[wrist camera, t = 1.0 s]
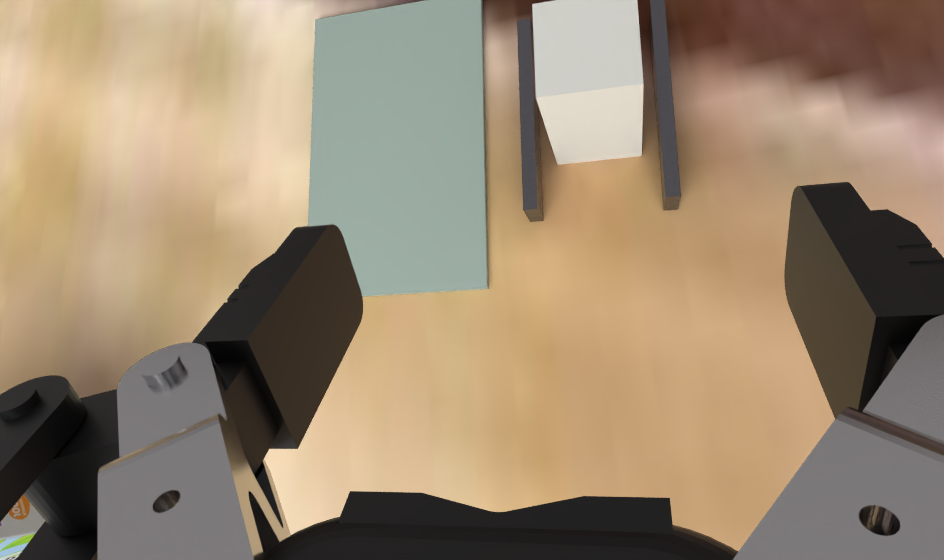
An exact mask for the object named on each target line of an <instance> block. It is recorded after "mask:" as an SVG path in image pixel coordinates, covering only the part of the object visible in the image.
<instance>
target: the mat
mask: <svg viewBox="0 0 944 560" xmlns="http://www.w3.org/2000/svg"><path fill="white" fill-rule="evenodd" d="M330 224H333V225H336V226H337V227H338V228H339V229H340V231H341V233H342V235H343V237H344V240H345V244H346V247H347V250H348V253H349V256H350V259H351V262H352V265H353V268H354V271H355V274H356V277H357V280H358V283H359V286H360V289H361V293H362V297H365V296H382V295H398V294H415V293H431V292H448V291H464V290H481V289H488V248H487V200H486V151H485V103H484V54H483V6H482V0H425V1H419V2H414V3H408V4H402V5H396V6H391V7H385V8H379V9H373V10H368V11H362V12H356V13H351V14H345V15H339V16H333V17H328V18H322V19H316V21H315V48H314V76H313V104H312V132H311V159H310V187H309V215H308V226H318V225H330Z"/></svg>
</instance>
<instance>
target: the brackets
mask: <svg viewBox="0 0 944 560" xmlns="http://www.w3.org/2000/svg"><path fill="white" fill-rule="evenodd" d="M649 28H650V41H651V54H652V67H653V80H654V93H655V106H656V119H657V132H658V145H659V158H660V171H661V184H662V197H663V210H676V209H678V207H679V202H680V197H681V192H680V180H679V168H678V156H677V144H676V132H675V120H674V108H673V96H672V84H671V72H670V59H669V47H668V35H667V23H666V11H665V0H650V14H649ZM517 29H518V60H519V91H520V122H521V153H522V183H523V210H524V212H525V214H526V215H527V217H528V219H529V220H530V222H534V221H543V198H542V172H541V146H540V121H539V106H538V103H537V100H536V88H535V61H534V35H533V27H532V23H531V19H525V20H519V21H517Z"/></svg>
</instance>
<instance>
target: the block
mask: <svg viewBox="0 0 944 560" xmlns="http://www.w3.org/2000/svg"><path fill="white" fill-rule="evenodd" d="M532 8H533V35H534V61H535V88H536V100H537V103H538V106H539V109H540V112H541V115H542V118H543V121H544V124H545V127H546V130H547V134H548V137H549V140H550V143H551V146H552V149H553V152H554V155H555V158H556V161H557V164H558V165H559V164H568V163H578V162H588V161H597V160H607V159H616V158H626V157H635V156H642V123H643V71H642V57H641V44H640V30H639V16H638V3H637V0H555V1H549V2H543V3H537V4H532Z"/></svg>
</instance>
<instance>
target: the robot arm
mask: <svg viewBox="0 0 944 560" xmlns="http://www.w3.org/2000/svg"><path fill="white" fill-rule="evenodd" d="M238 286H239V289H235V290H234V292H233V293H232V294H231V295H230V296H229V298H228V299H227V300H228V302H227V303H224V304H223V305H222V306H221V308H220V309H219V310H218V311H217V312H216V314H215V315H214V316H213V317H212V319H211V320H210V321H209V322H208V323H207V325H206V326H205V327H204V328H203V330H202V331H201V332H200V333H199V335H198V336H197V337H196V338H195V339H194V341H193V342H192V343H181V344H175V345H172V346H168V347H165V348H163V349H160V350H158V351H156V352H153V353H152V354H150V355H148V356H146V357H144V358H143V359H141V360H140V361H138V362H137V363H136V364H135V365H133V366H132V367H131V368H130V369H129V370H128V371H127V372H126V373H125V374H124V375H123V377H122V378H121V380H120V382H119V384H118V387H117V389H116V390H112V391H108V392H104V393H100V394H96V395H92V396H88V397H84V398H79V396H78V395H77V393H76V392H75V391H74V389H73V388H72V386H71V385H70V383H69V382H68V380H66V379H65V378H64V377H61V376H44V377H39V378H35V379H32V380H29V381H27V382H24V383H22V384H19V385H17V386H15V387H13V388H11V389H9V390H8V391H6V392H4V393H2V394H1V395H0V522H1V521H2V520H3V518H4V517H5V516H6V515H7V514H8V512H9V511H10V510H11V509H12V508H13V506H14V505H15V504H16V503H17V501H18V500H19V499H20V498H21V497H22V495H24V496H25V497H26V499H27V500H28V501H29V502H30V503H31V505H32V506H33V507H34V508H35V509H36V510H37V512H38V513H39V514H40V515H41V516H42V518H43V519H44V520H45V522H44V523H43V524H42V526H41V527H40V528H39V530H38V531H37V532H36V534H35V535H34V536H33V538H32V539H31V540H30V542H29V543H28V544H27V546H26V547H25V548H24V549H23V551H22V552H21V553H20V555H19V556H18V557H17V559H16V560H944V258H943V257H942V255H941V254H940V253H939V252H938V251H937V249H936V248H932V243H931V242H930V241H929V240H928V239H927V237H926V236H925V235H924V234H923V232H922V231H921V230H920V229H919V228H918V226H917V225H916V224H914V223H912V222H910V221H908V220H906V219H904V218H903V217H901V216H899V215H897V214H895V213H893V212H891V211H889V210H888V209H887V210H873V211H870V209H869V208H868V207H867V205H866V204H865V203H864V201H863V200H862V198H861V197H860V196H859V194H858V193H857V192H856V190H855V189H854V188H853V186H852V185H851V184H850V183H849V182H841V183H829V184H817V185H806V186H797V187H796V188H795V189H794V192H793V195H792V201H791V210H790V220H789V230H788V240H787V251H786V261H785V290H786V296H787V300H788V304H789V307H790V309H791V312H792V314H793V317H794V319H795V321H796V324H797V326H798V329H799V331H800V334H801V336H802V339H803V341H804V344H805V346H806V348H807V351H808V353H809V356H810V358H811V361H812V363H813V366H814V368H815V370H816V373H817V375H818V378H819V380H820V383H821V385H822V388H823V390H824V393H825V395H826V397H827V400H828V402H829V405H830V407H831V410H832V412H833V415H834V417H835V420H834V422H833V423H832V424H831V426H830V427H829V429H828V430H827V431H826V433H825V434H824V435H823V437H822V438H821V440H820V441H819V442H818V444H817V445H816V446H815V448H814V449H813V450H812V452H811V453H810V455H809V456H808V457H807V459H806V460H805V461H804V463H803V464H802V466H801V467H800V468H799V470H798V471H797V472H796V474H795V475H794V477H793V478H792V479H791V481H790V482H789V483H788V485H787V486H786V487H785V489H784V490H783V492H782V493H781V494H780V496H779V497H778V498H777V500H776V501H775V503H774V504H773V505H772V507H771V508H770V509H769V511H768V512H767V513H766V515H765V516H764V518H763V519H762V520H761V522H760V523H759V524H758V526H757V527H756V529H755V530H754V531H753V533H752V534H751V535H750V537H749V538H748V540H747V541H746V542H745V544H744V545H743V546H742V548H741V549H740V550H739V552H738V551H736V550H734V549H733V548H731V547H729V546H727V545H725V544H723V543H721V542H719V541H717V540H715V539H713V538H711V537H709V536H706V535H703V534H701V533H698V532H695V531H692V530H690V529H686V528H682V527H679V526H675V525H672V516H671V506H670V498H644V497H596V496H583V497H578V498H573V499H568V500H563V501H557V502H552V503H547V504H542V505H537V506H532V507H527V508H522V509H517V510H512V511H507V512H491V511H487V510H483V509H480V508H476V507H472V506H468V505H465V504H461V503H457V502H454V501H450V500H446V499H443V498H439V497H435V496H431V495H428V494H424V493H404V492H356V491H350V493H349V495H348V498H347V501H346V503H345V506H344V508H343V511H342V514H341V516H340V517H337V518H333V519H330V520H327V521H323V522H320V523H317V524H314V525H312V526H310V527H307V528H305V529H303V530H300V531H298V532H296V533H295V534H293V535H291V534H290V531H289V528H288V525H287V522H286V519H285V516H284V513H283V510H282V507H281V503H280V500H279V497H278V494H277V491H276V488H275V485H274V482H273V479H272V476H271V473H270V470H269V468H268V466H267V464H266V462H265V460H264V457H265V456H266V454H267V452H268V450H269V449H298V447H299V445H300V443H301V441H302V439H303V437H304V435H305V433H306V431H307V429H308V427H309V425H310V423H311V421H312V419H313V417H314V415H315V413H316V411H317V409H318V407H319V405H320V403H321V401H322V399H323V397H324V395H325V393H326V391H327V389H328V387H329V385H330V383H331V381H332V379H333V377H334V375H335V373H336V371H337V369H338V367H339V365H340V363H341V361H342V359H343V357H344V355H345V353H346V351H347V349H348V347H349V345H350V343H351V341H352V339H353V337H354V335H355V333H356V331H357V329H358V327H359V325H360V322H361V319H362V314H363V299H362V293H361V289H360V286H359V283H358V280H357V277H356V274H355V271H354V268H353V265H352V262H351V259H350V256H349V253H348V250H347V247H346V244H345V240H344V237H343V235H342V233H341V231H340V229H339V228H338V227H337V226H336V225H333V224H330V225H318V226H306V227H297V228H295V229H294V230H293V231H292V232H291V233H290V235H289V236H288V237H287V238H286V240H285V241H284V242H283V243H282V245H281V246H280V247H279V248H278V250H277V251H276V252H275V253H274V254H272V255H271V256H270V257H268V258H267V259H265V260H264V261H263V262H261V263H260V264H258V265H257V266H255V267H254V268H253V269H251V271H250V272H249V273H248V274H247V276H246V277H245V278H244V279H243V281H242V282H241V283H240V284H239V285H238Z"/></svg>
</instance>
